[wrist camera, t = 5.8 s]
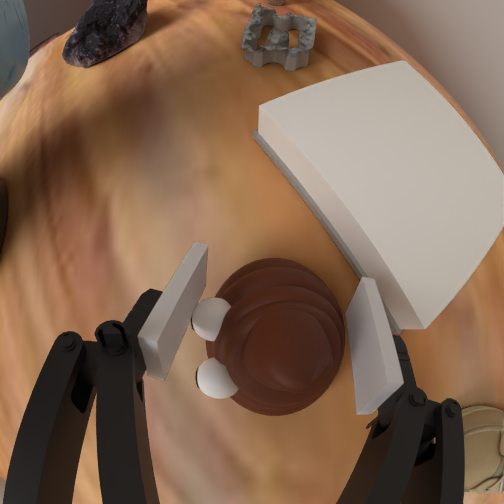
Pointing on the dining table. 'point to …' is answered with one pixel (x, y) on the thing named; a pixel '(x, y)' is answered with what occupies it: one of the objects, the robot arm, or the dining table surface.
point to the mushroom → (276, 2)
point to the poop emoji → (270, 338)
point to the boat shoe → (483, 449)
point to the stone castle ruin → (278, 38)
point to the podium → (390, 182)
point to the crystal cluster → (105, 31)
